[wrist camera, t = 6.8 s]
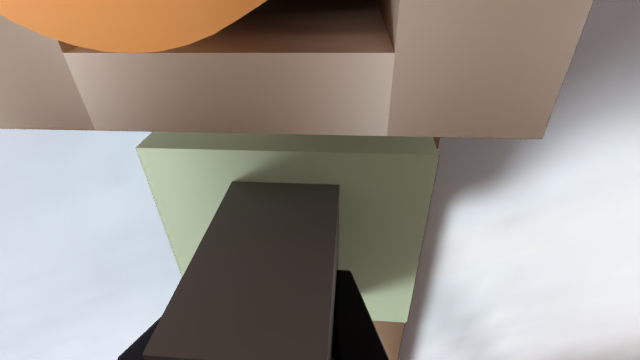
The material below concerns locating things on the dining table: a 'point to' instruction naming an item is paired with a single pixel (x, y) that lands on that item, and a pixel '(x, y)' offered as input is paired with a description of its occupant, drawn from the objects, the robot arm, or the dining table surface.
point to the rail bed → (313, 75)
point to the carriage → (283, 236)
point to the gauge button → (127, 21)
